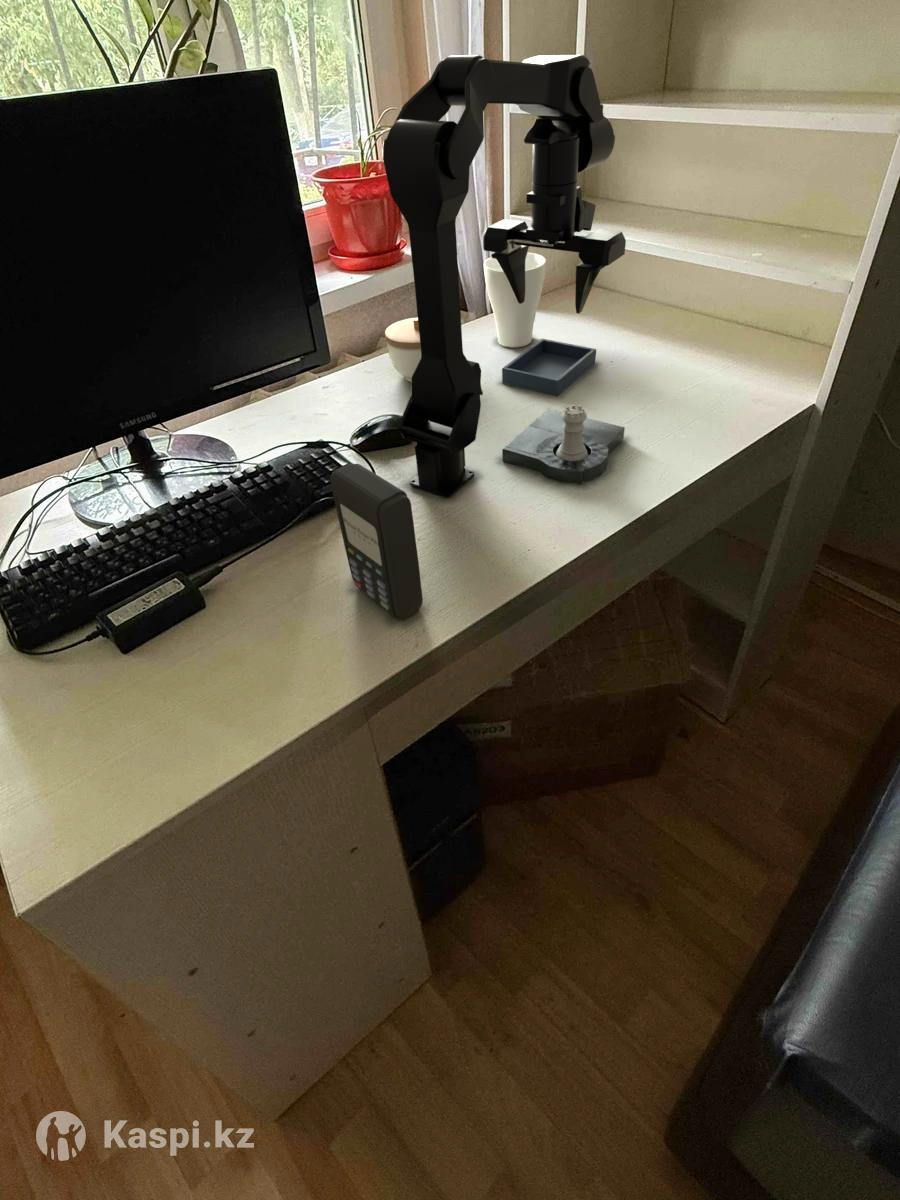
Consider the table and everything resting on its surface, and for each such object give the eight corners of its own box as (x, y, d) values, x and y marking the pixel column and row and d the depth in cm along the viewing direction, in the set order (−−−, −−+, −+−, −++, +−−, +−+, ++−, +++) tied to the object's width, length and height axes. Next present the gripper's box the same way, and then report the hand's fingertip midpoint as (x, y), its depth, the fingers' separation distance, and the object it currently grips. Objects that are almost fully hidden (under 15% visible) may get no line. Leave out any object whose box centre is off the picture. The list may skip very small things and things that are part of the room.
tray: (557, 396, 107) (558, 380, 105) (502, 383, 112) (501, 368, 110) (595, 364, 115) (596, 348, 113) (541, 353, 119) (542, 338, 118)
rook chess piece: (587, 473, 91) (591, 418, 85) (553, 471, 91) (555, 417, 86) (588, 455, 94) (593, 401, 88) (556, 454, 95) (558, 400, 89)
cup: (474, 342, 124) (470, 264, 115) (514, 325, 129) (513, 248, 120) (515, 358, 118) (515, 276, 109) (556, 339, 123) (559, 259, 114)
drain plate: (587, 490, 88) (588, 477, 86) (499, 464, 94) (499, 451, 92) (631, 442, 96) (633, 429, 94) (548, 420, 102) (548, 408, 100)
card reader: (347, 586, 77) (321, 472, 67) (376, 569, 79) (355, 456, 69) (397, 626, 72) (378, 509, 62) (427, 607, 74) (412, 491, 63)
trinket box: (381, 386, 114) (373, 330, 107) (403, 359, 121) (396, 305, 115) (442, 391, 111) (437, 334, 105) (461, 363, 118) (457, 308, 112)
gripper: (649, 172, 87) (634, 299, 97) (522, 164, 95) (521, 281, 106) (612, 192, 80) (600, 325, 91) (479, 181, 89) (482, 304, 99)
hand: (549, 307), depth 97 cm, fingers open, 9 cm apart
